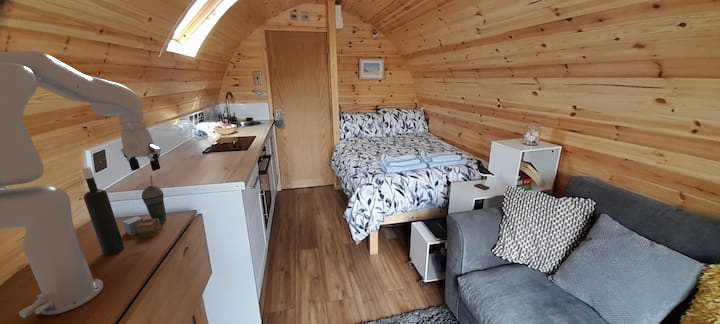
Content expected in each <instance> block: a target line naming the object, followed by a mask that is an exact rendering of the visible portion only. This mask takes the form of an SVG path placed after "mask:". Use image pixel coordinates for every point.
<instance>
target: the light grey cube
mask: <svg viewBox="0 0 720 324" xmlns="http://www.w3.org/2000/svg"><path fill="white" fill-rule="evenodd" d="M144 220H145V219H144V217H141V216H133V217H131V218H128V219H126V220H122V224H123V227H124V231H125V233H126V234H127V235H129V236H135V235H137V233H138V234H139V232H138V228H137V225H138V224H140V223H141V222H142V221H144Z"/></svg>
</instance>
